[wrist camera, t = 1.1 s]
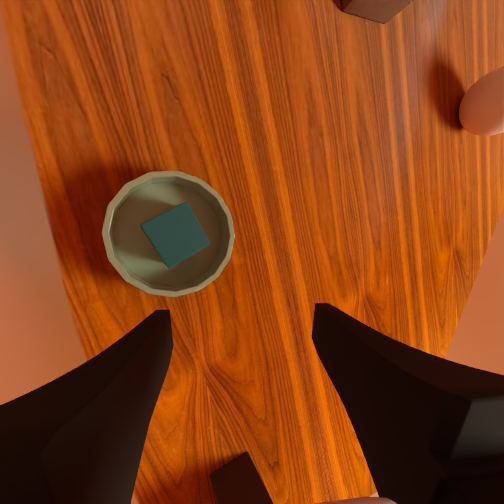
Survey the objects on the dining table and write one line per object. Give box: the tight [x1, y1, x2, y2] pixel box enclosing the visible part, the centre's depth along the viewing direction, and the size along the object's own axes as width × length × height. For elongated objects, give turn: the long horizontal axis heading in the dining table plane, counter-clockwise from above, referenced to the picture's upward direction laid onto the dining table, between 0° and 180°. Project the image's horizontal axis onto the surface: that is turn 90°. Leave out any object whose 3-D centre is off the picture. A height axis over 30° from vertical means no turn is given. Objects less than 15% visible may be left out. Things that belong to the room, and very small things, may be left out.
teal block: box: [140, 201, 211, 268], centre depth 22 cm, size 4×4×4 cm
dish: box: [102, 170, 235, 297], centre depth 22 cm, size 11×11×4 cm
